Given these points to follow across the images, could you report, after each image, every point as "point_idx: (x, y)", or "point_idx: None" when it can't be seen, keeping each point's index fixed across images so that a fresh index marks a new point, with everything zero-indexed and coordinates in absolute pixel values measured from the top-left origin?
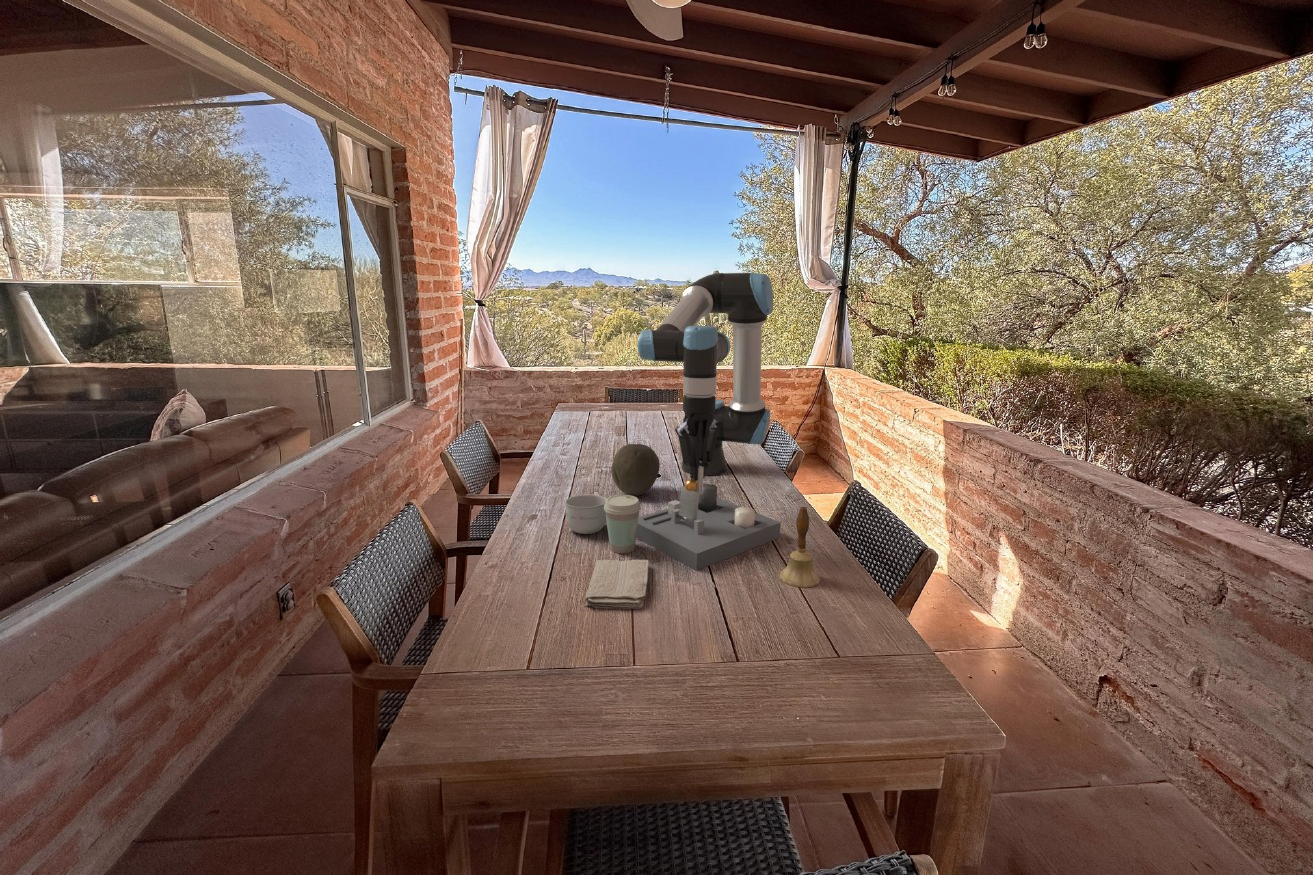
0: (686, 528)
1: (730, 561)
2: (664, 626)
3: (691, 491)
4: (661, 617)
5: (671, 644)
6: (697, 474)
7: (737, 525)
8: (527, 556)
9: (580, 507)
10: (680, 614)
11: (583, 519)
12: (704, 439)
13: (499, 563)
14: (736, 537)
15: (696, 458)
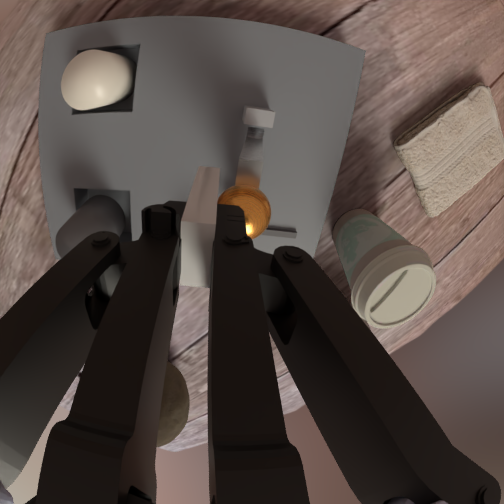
0: None
1: (257, 18)
2: (485, 39)
3: (258, 188)
4: (477, 49)
5: (496, 22)
6: (219, 218)
7: (130, 77)
8: (431, 297)
9: None
10: (460, 27)
11: (367, 323)
12: (123, 423)
13: (451, 299)
14: (208, 22)
15: (253, 277)
